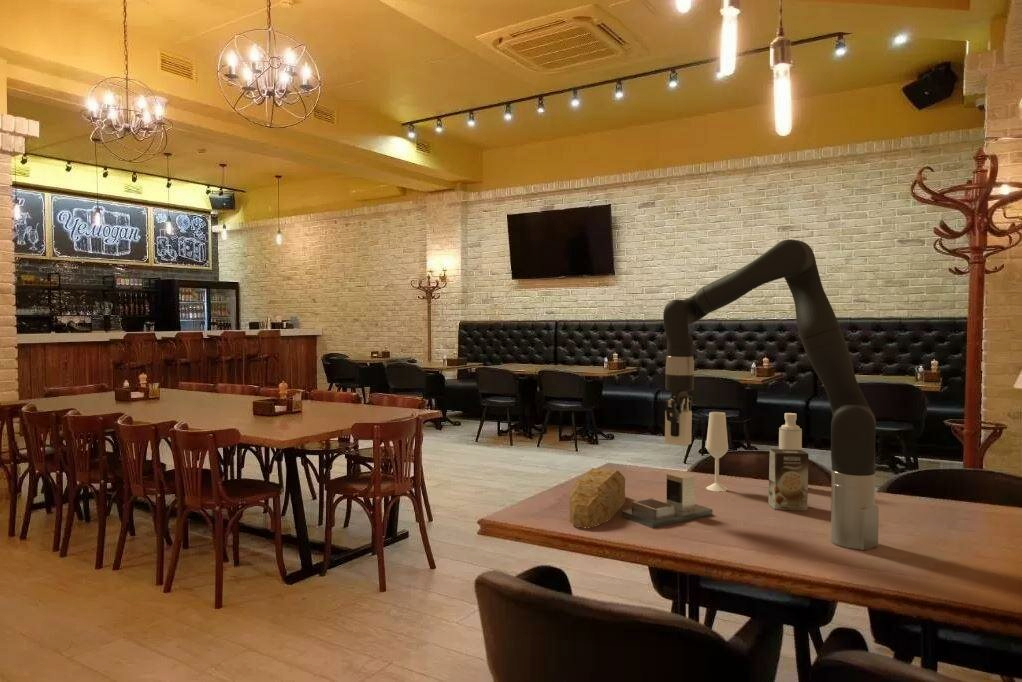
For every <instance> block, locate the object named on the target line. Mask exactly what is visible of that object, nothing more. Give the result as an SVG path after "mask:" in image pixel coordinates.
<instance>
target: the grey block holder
mask: <svg viewBox="0 0 1022 682" xmlns="http://www.w3.org/2000/svg"><path fill="white" fill-rule="evenodd" d="M695 476H696V475H692V474H688V473H685V472H680V471H676V472H671V473H666V501H662V500H659V499H656V498H652V497H651V498H645V499H640V500H634V501H631V508H629V509H625V510H621V517H622V518H625V519H627V518H628V520H631V521H632V522H635V523H639V524H641V525H644V526H646V527H648V526H649V528H652V529H654V527H655V528H658V527H663V526H667V525H672V524H677V523H682V522H686V521H691V520H696V519H699V518H705V517H709V516H713V509H712V508H709V507H706V506H703V505H699V504H696V502H695V501H696V500H695V495H696V494H695V493H696V491H695V490H696V489H695V488H696V487H695V482H696V481H695V480H696V477H695Z"/></svg>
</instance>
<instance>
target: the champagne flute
mask: <svg viewBox="0 0 1022 682" xmlns="http://www.w3.org/2000/svg"><path fill="white" fill-rule="evenodd" d="M726 418H727V417H726V412H723V411H722V412H721V411H711V412H709V415H708V426H707V433H706V444H705V445H706V446H705V448H706V450H707V452H708V453H709V454H710V455H711V457H713V458H714V483H712V484H710V485H708V486H706V488H705V489H706V490H708V491H711V492H719V491H722V492H727V491H728V490H727V489H728V488H727V487H726V486H724V485H723V484H721V483H720V459H721V458H722V457H723V456H724V455H726V453H727V452H728V450H729V442H728V440H729V439H728V429H727V428H728V427H727V419H726ZM726 490H727V491H726Z"/></svg>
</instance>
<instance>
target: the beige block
mask: <svg viewBox="0 0 1022 682" xmlns="http://www.w3.org/2000/svg"><path fill="white" fill-rule="evenodd" d="M676 411H679V410H676ZM673 417H674V416H673ZM664 418H665V419H664V422H665V423H664V444H666V445H675V446H683V447H687V446H689V445H691V444H692V429H693V428H692V426H693V424H692V423H693V422H692V421H693V420H692V419H693V411H692V410H691V411H686V410H683V412H682V414H681V415H680V422H679V436H678V437H675V436H671V422H670V421H667V415H666V410H665V411H664Z"/></svg>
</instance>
